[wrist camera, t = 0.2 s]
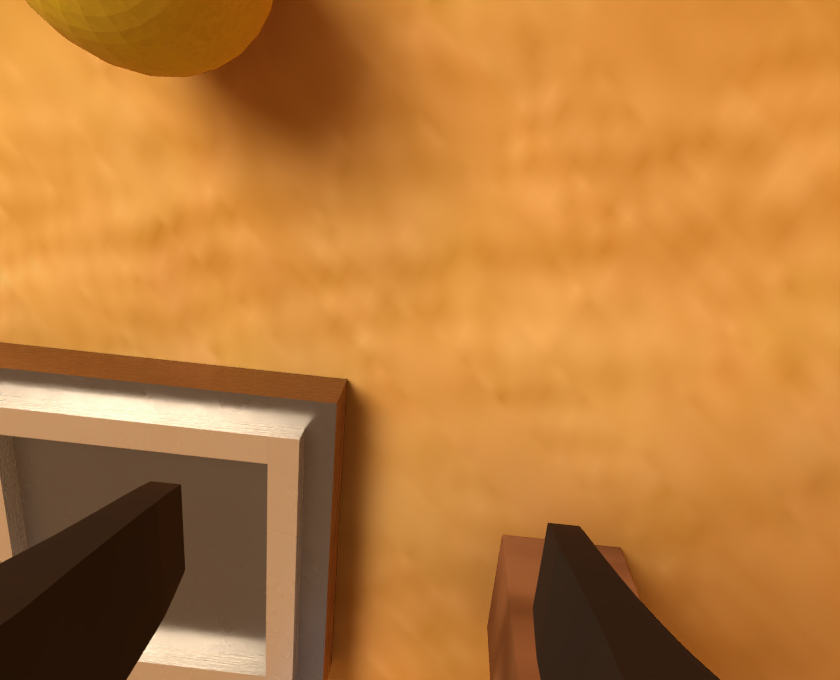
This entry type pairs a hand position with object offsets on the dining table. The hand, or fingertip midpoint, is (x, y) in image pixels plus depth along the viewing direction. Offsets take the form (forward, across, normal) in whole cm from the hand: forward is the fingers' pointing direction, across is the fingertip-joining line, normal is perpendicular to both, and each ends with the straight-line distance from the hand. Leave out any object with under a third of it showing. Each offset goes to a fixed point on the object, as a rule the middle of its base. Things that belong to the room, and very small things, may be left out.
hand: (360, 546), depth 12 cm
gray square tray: (+10, +8, +7) cm, 15 cm away
